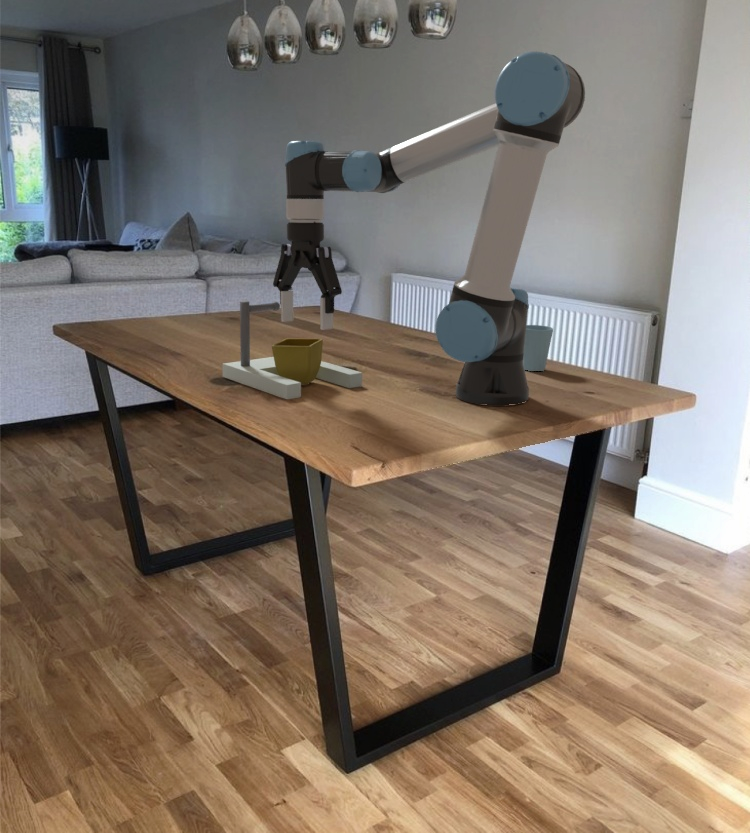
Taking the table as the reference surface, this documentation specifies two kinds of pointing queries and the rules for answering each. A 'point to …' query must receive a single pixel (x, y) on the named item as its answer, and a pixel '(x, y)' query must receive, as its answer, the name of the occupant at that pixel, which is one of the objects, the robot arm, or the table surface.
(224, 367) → the l-shaped hook stand
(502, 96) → the robot arm
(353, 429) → the table surface
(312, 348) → the flower pot
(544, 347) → the cup
